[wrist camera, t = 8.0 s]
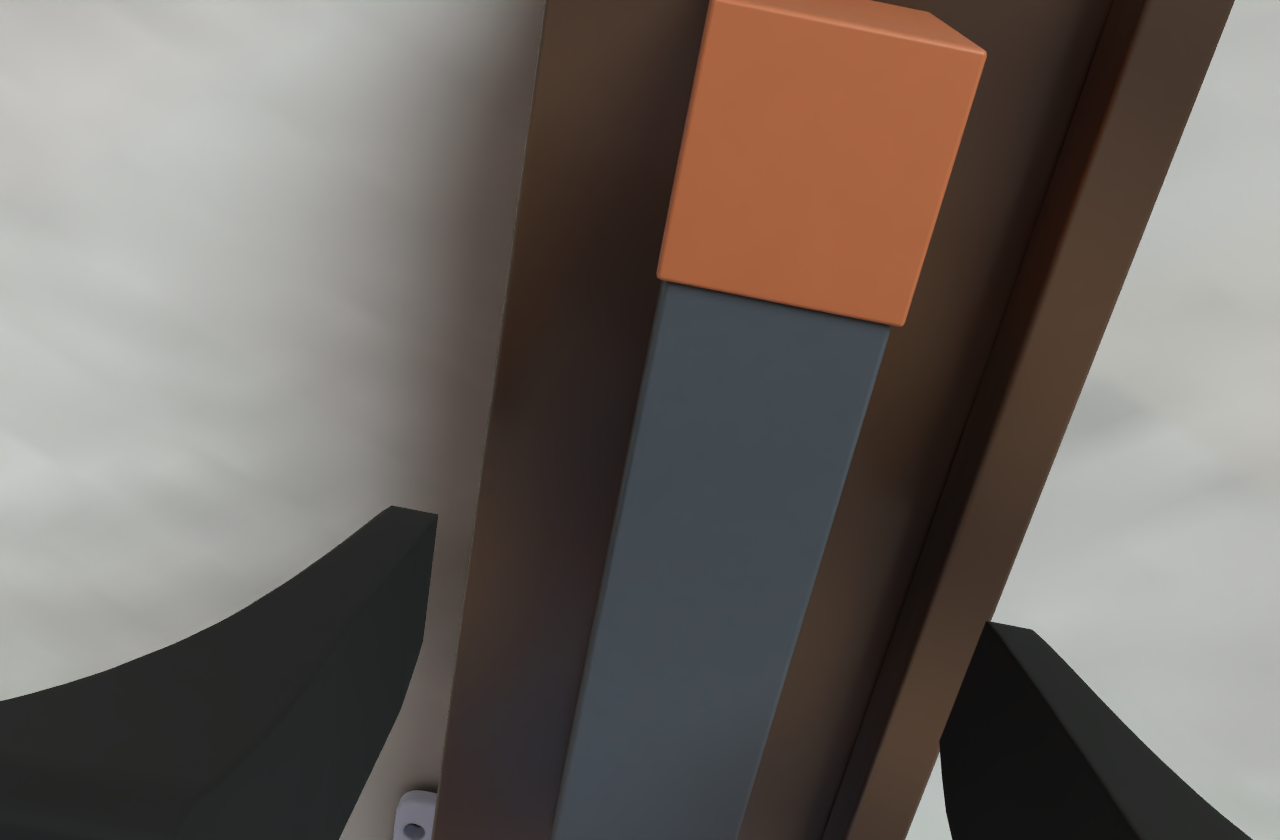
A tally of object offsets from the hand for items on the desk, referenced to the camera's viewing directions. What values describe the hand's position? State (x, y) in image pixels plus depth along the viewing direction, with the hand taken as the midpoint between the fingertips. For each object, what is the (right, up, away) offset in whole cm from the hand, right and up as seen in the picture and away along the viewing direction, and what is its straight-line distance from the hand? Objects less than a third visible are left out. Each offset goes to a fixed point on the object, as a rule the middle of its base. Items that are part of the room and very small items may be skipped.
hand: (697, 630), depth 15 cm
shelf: (+1, +4, +7) cm, 8 cm away
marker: (0, +2, +3) cm, 3 cm away
